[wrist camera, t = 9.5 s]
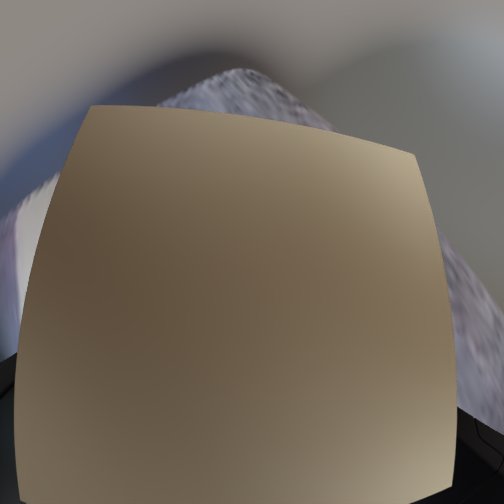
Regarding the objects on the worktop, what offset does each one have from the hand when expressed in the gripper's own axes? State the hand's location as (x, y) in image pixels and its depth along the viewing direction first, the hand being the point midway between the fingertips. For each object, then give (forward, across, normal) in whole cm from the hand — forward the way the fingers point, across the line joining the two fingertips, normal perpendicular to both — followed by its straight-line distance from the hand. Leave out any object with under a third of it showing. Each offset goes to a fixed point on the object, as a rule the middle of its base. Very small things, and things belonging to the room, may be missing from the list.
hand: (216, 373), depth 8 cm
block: (+6, 0, +5) cm, 8 cm away
